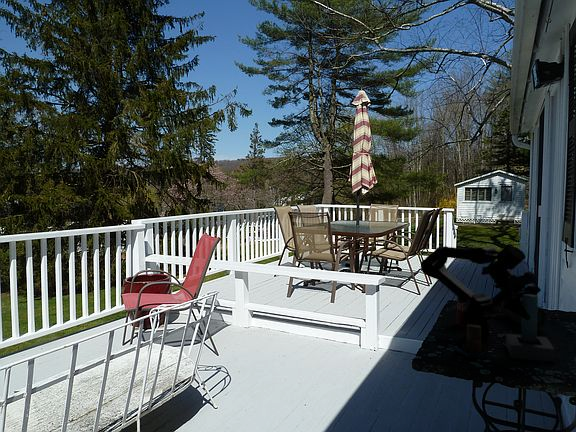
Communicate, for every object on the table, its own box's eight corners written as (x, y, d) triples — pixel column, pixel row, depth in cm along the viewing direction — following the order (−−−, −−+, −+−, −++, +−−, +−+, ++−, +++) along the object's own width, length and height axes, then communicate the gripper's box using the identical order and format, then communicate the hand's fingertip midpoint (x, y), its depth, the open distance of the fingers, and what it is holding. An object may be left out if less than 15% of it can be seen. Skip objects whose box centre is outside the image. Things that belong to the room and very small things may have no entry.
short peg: (466, 351, 146) (467, 327, 145) (466, 347, 150) (466, 323, 149) (481, 353, 144) (481, 328, 144) (480, 348, 148) (480, 325, 148)
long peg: (528, 341, 141) (530, 297, 140) (517, 337, 145) (519, 294, 144) (540, 340, 142) (541, 296, 141) (528, 336, 146) (529, 293, 146)
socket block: (510, 357, 140) (510, 345, 140) (505, 345, 151) (506, 333, 151) (554, 362, 136) (554, 349, 136) (546, 349, 147) (546, 337, 147)
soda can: (460, 321, 180) (460, 291, 179) (479, 324, 175) (479, 294, 174) (454, 325, 174) (454, 295, 173) (473, 329, 169) (473, 297, 169)
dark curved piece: (548, 332, 165) (549, 305, 164) (523, 332, 165) (523, 305, 165) (518, 315, 188) (518, 291, 187) (495, 315, 188) (496, 292, 187)
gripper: (500, 266, 141) (533, 308, 132) (536, 261, 150) (569, 300, 141) (478, 286, 148) (508, 327, 139) (513, 280, 158) (543, 319, 149)
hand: (533, 318), depth 142 cm, fingers closed on long peg, 4 cm apart
